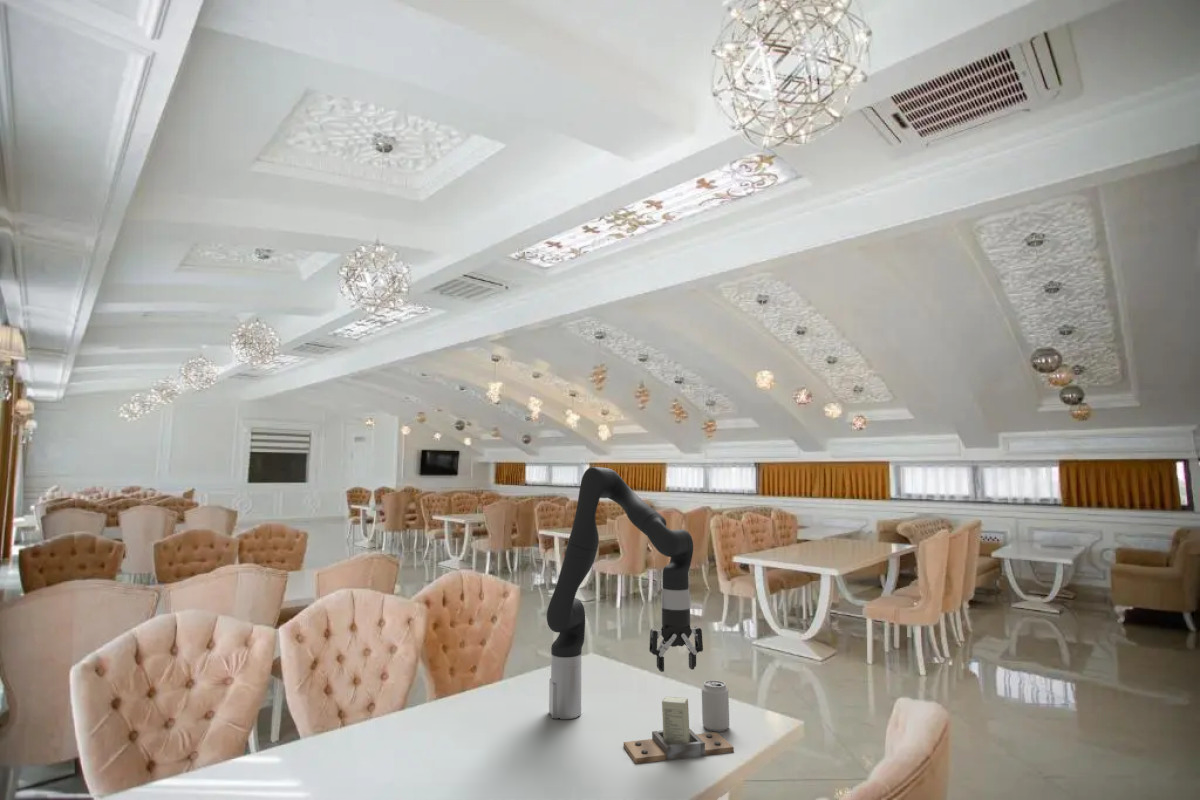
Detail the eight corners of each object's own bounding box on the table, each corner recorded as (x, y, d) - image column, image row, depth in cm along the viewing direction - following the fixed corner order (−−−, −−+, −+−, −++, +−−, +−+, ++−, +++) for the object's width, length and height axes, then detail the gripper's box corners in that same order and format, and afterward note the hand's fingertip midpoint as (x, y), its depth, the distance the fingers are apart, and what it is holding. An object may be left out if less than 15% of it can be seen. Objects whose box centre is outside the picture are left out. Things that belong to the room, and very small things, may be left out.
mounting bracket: (635, 764, 146) (635, 750, 146) (623, 746, 155) (623, 734, 156) (734, 752, 152) (733, 739, 153) (716, 736, 162) (715, 724, 163)
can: (729, 733, 164) (728, 687, 166) (702, 731, 165) (701, 685, 167) (729, 723, 171) (728, 679, 173) (703, 721, 173) (701, 677, 175)
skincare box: (690, 748, 155) (689, 697, 157) (687, 754, 151) (686, 703, 153) (666, 744, 157) (665, 695, 159) (662, 751, 153) (661, 700, 155)
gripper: (694, 602, 165) (695, 664, 162) (646, 604, 161) (646, 667, 159) (706, 607, 158) (707, 672, 155) (655, 609, 154) (655, 676, 151)
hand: (676, 669), depth 157 cm, fingers open, 8 cm apart
